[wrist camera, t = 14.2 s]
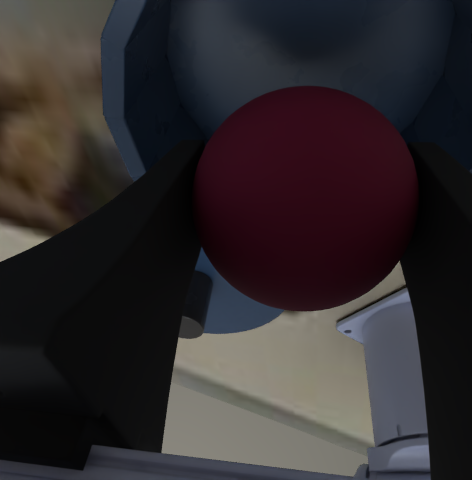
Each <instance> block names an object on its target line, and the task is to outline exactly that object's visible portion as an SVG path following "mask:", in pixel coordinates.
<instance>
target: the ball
mask: <svg viewBox="0 0 472 480" xmlns="http://www.w3.org/2000/svg"><path fill="white" fill-rule="evenodd" d="M418 210H419V182H418V177H417V172H416V168H415V164H414V160H413V158H412V156H411V154H410V152H409V150H408V147H407V145H406V143H405V141H404V139H403V138H402V136H401V135H400V133H399V132H398V131H397V129H396V128H395V127H394V126H393V124H392V123H391V122H390V121H389V120H388V119H387V118H386V117H385V116H384V115H383V114H382V113H381V112H380V111H378V110H377V109H375V108H374V107H373V106H371V105H370V104H368V103H367V102H365V101H363V100H361V99H359V98H357V97H355V96H354V95H351V94H349V93H346V92H343V91H340V90H337V89H332V88H327V87H320V86H294V87H288V88H282V89H278V90H275V91H272V92H268V93H266V94H263V95H261V96H259V97H257V98H255V99H253V100H251V101H250V102H248V103H246V104H245V105H243V106H242V107H240V108H239V109H237V110H236V111H235V112H234V113H232V114H231V115H230V116H229V117H228V118H227V119H226V120H225V121H224V122H223V123H222V124H221V125H220V126H219V127H218V129H217V130H216V131H215V132H214V134H213V135H212V137H211V138H210V140H209V141H208V143H207V144H206V146H205V149H204V151H203V153H202V155H201V157H200V160H199V162H198V164H197V168H196V172H195V176H194V180H193V187H192V215H193V220H194V225H195V229H196V233H197V236H198V239H199V241H200V244H201V246H202V248H203V251H204V253H205V254H206V256H207V257H208V259H209V261H210V262H211V264H212V265H213V267H214V268H215V269H216V271H217V272H218V273H219V274H220V275H221V276H222V277H223V278H224V279H225V280H226V281H227V282H228V283H229V284H230V285H231V286H232V287H234V288H235V289H236V290H238V291H239V292H241V293H242V294H244V295H246V296H248V297H249V298H251V299H253V300H255V301H257V302H259V303H262V304H264V305H267V306H270V307H274V308H278V309H283V310H290V311H318V310H324V309H330V308H334V307H337V306H340V305H343V304H346V303H348V302H350V301H352V300H354V299H356V298H358V297H360V296H362V295H364V294H365V293H367V292H369V291H370V290H371V289H373V288H374V287H375V286H376V285H378V284H379V283H380V282H381V281H382V280H384V279H385V278H386V276H387V275H388V274H389V273H390V272H391V271H392V270H393V268H394V267H395V266H396V265H397V263H398V262H399V260H400V259H401V258H402V256H403V254H404V252H405V251H406V249H407V247H408V244H409V242H410V240H411V238H412V235H413V232H414V229H415V226H416V221H417V217H418Z"/></svg>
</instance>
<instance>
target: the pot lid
mask: <svg viewBox="0 0 472 480" xmlns="http://www.w3.org/2000/svg"><path fill="white" fill-rule="evenodd" d="M283 311H284V310H283V309H278V308H274V307H270V306H267V305H264V304H262V303H259V302H257V301H255V300H253V299H251V298H249V297H248V296H246V295H244V294H242V293H241V292H239V291H238V290H236V289H235V288H234V287H232V286H231V285H230V284H229V283H228V282H227V281H226V280H225V279H224V278H223V277H222V276H221V275H220V274H219V273H218V272H217V271H216V269H215V268H214V267H213V265H212V264H211V262H210V261H209V259H208V257H207V256H206V254H205V253H204V251H203V248H201V251H200V254H199V258H198V261H197V264H196V267H195V271H194V274H193V277H192V280H191V283H190V287H189V290H188V294H187V297H186V301H185V305H184V310H183V316H182V321H181V326H180V331H179V337H180V338H187V339H192V338H197V337H199V336H201V335H202V334H203V333H211V334H226V333H237V332H242V331H247V330H251V329H255V328H257V327H260V326H263V325H265V324H267V323H269V322H270V321H272V320H273V319H275V318H276V317H278V316H279V315H280V314H281V313H282V312H283Z"/></svg>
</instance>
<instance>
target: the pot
mask: <svg viewBox="0 0 472 480" xmlns="http://www.w3.org/2000/svg"><path fill="white" fill-rule="evenodd" d="M101 36H102V37H101V64H102V94H103V115H104V116H105V120H106V122H107V125H108V127H109V129H110V131H111V134H112V136H113V138H114V140H115V143H116V145H117V147H118V150H119V152H120V154H121V156H122V159H123V161H124V163H125V165H126V168H127V170H128V172H129V174H130V176H131V177H132V179H133V180H134V182H135V181H136V180H138V179H139V178H140V177H141V176H142V175H144V174H145V173H146V172H147V171H148V170H149V169H150V168H151V167H152V166H154V165H155V164H156V163H157V162H158V161H159V160H160V159H161V158H162V157H163V156H164V155H166V154H167V153H168V152H169V151H170V150H171V149H172V148H173V147H174V146H175V145H176V144H178V143H179V142H180V141H181V140H204V143H205V146H206V144H207V143H208V141H209V140H210V138H211V137H212V135H213V134H214V132H215V131H216V130H217V129H218V127H219V126H220V125H221V124H222V123H223V122H224V121H225V120H226V119H227V118H228V117H229V116H230V115H231V114H232V113H234V112H235V111H236V110H237V109H239V108H240V107H242V106H243V105H245V104H246V103H248V102H250V101H251V100H253V99H255V98H257V97H259V96H261V95H263V94H266V93H268V92H272V91H275V90H278V89H282V88H288V87H294V86H320V87H327V88H332V89H337V90H340V91H343V92H346V93H349V94H351V95H354V96H355V97H357V98H359V99H361V100H363V101H365V102H367V103H368V104H370V105H371V106H373V107H374V108H375V109H377V110H378V111H380V112H381V113H382V114H383V115H384V116H385V117H386V118H387V119H388V120H389V121H390V122H391V123H392V124H393V126H394V127H395V128H396V129H397V131H398V132H399V133H400V135H401V136H402V138H403V139H404V141H405V143H406V145H407V144H408V142H434V143H436V144H437V145H438V146H440V147H441V148H442V149H443V150H445V151H446V152H447V153H448V154H449V155H451V156H452V157H453V158H454V159H455V160H456V161H458V162H459V163H460V164H461V165H462V166H463V167H465V168H466V169H467V170H468V171H469V172H471V173H472V0H115V3H114V5H113V7H112V10H111V12H110V15H109V17H108V20H107V22H106V25H105V27H104V29H103V32H102V35H101Z"/></svg>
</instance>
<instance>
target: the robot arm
mask: <svg viewBox="0 0 472 480" xmlns="http://www.w3.org/2000/svg"><path fill="white" fill-rule="evenodd" d="M407 147H408V150H409V152H410V154H411V156H412V158H413V160H414V164H415V168H416V172H417V177H418V182H419V210H418V217H417V221H416V226H415V229H414V232H413V235H412V238H411V240H410V242H409V244H408V247H407V249H406V251H405V252H404V254H403V256H402V258H401V259H400V263H401V267H402V271H403V275H404V278H405V282H406V286H407V287H406V288H404V289H402V290H400V291H398V292H396V293H395V294H393V295H391V296H389V297H387V298H385V299H383V300H381V301H379V302H377V303H375V304H373V305H371V306H369V307H367V308H365V309H363V310H361V311H359V312H357V313H355V314H353V315H351V316H349V317H347V318H345V319H343V320H342V321H340V322H338V323H337V324H336V329H337V330H338V331H339V332H341V333H343V334H345V335H347V336H349V337H350V338H352V339H354V340H356V341H358V342H360V343H361V344H363V345H364V353H365V362H366V371H367V380H368V389H369V398H370V407H371V416H372V425H373V433H374V442H375V447H371V448H367V453H368V463H369V464H362V465H360V466H359V468H358V469H357V472H356V474H355V475H354V476H353V477H350V476H341V475H334V474H325V473H318V472H309V471H302V470H294V469H286V468H277V467H269V466H261V465H252V464H245V463H237V462H228V461H220V460H212V459H203V458H196V457H188V456H180V455H172V454H163V453H161V450H162V443H163V435H164V427H165V420H166V412H167V404H168V397H169V392H170V385H171V378H172V372H173V366H174V360H175V354H176V348H177V343H178V337H179V331H180V326H181V321H182V316H183V310H184V305H185V301H186V297H187V294H188V290H189V287H190V283H191V280H192V277H193V274H194V271H195V267H196V264H197V261H198V258H199V254H200V251H201V248H202V246H201V244H200V241H199V239H198V236H197V233H196V229H195V225H194V220H193V215H192V187H193V180H194V176H195V172H196V168H197V164H198V162H199V160H200V157H201V155H202V153H203V151H204V149H205V143H204V140H181V141H180V142H179V143H178V144H176V145H175V146H174V147H173V148H172V149H171V150H170V151H169V152H168V153H167V154H166V155H164V156H163V157H162V158H161V159H160V160H159V161H158V162H157V163H156V164H155V165H154V166H152V167H151V168H150V169H149V170H148V171H147V172H146V173H145V174H144V175H142V176H141V177H140V178H139V179H138V180H136V181H135V182H134V183H133V184H132V185H130V186H129V187H128V188H127V189H125V190H124V191H123V192H122V193H120V194H119V195H118V196H117V197H115V198H114V199H113V200H111V201H110V202H109V203H107V204H106V205H104V206H103V207H102V208H100V209H99V210H97V211H96V212H94V213H93V214H91V215H89V216H88V217H86V218H85V219H83V220H82V221H80V222H78V223H77V224H75V225H73V226H72V227H70V228H68V229H66V230H64V231H62V232H61V233H59V234H57V235H55V236H53V237H52V238H50V239H48V240H46V241H44V242H42V243H40V244H39V245H36V246H34V247H32V248H30V249H28V250H26V251H24V252H22V253H20V254H17V255H15V256H13V257H11V258H8V259H6V260H4V261H2V262H0V480H472V173H471V172H469V171H468V170H467V169H466V168H465V167H463V166H462V165H461V164H460V163H459V162H458V161H456V160H455V159H454V158H453V157H452V156H451V155H449V154H448V153H447V152H446V151H445V150H443V149H442V148H441V147H440V146H438V145H437V144H436V143H434V142H408V144H407Z"/></svg>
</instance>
